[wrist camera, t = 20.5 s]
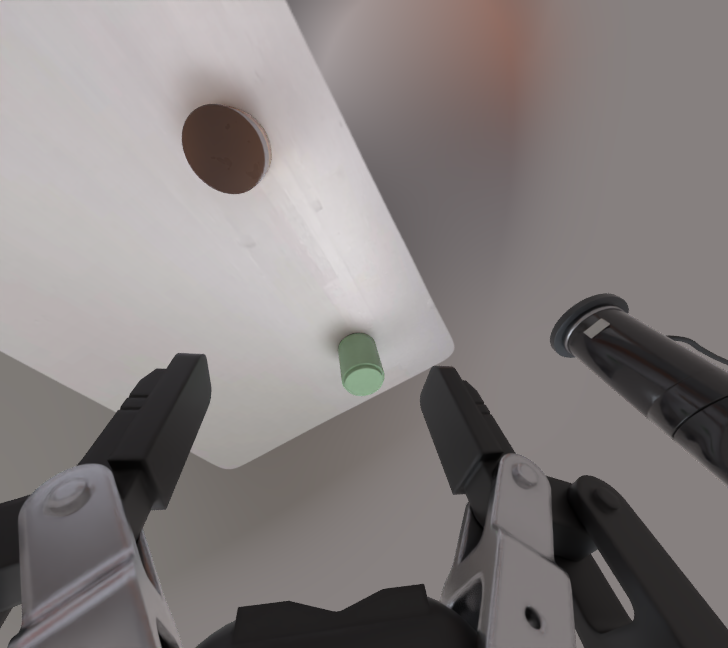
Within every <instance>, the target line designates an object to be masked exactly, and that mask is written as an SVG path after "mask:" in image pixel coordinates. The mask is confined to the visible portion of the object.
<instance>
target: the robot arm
mask: <svg viewBox="0 0 728 648" xmlns="http://www.w3.org/2000/svg"><path fill="white" fill-rule="evenodd" d="M676 341H682V342H685V343H688V344H690V345H691V346H693V347H694V348H695V349H696V350H698V351H700V352H702V353H703V354H705V355H707V356H709V357H711V358H713V359H715V360H717V361H720V362H722V363H724V364H727V365H728V360H726V359H724V358H722V357H720V356H717V355H716V354H714V353H712V352H710V351H708V350H707V349H705V348H703V347H701V346H700V345H699V344H697V343H696V342H695V341H693V340H691V339H689V338H685V337H679V336H665V335H663V334H662V333H660V332H658V331H657V330H655V329H653V328H651V327H650V326H648V325H646V324H644V323H643V322H641V321H639V320H638V319H636V318H634V317H633V316H631V315H629V314H627V313H626V312H624V311H623V310H622V309H620V308H619V307H617V306H615V305H612V304H603V305H599V306H596V307H593V308H591V309H589V310H587V311H585V312H584V313H582V314H581V315H579V316H578V317H577V318H576V319H575V320H573V322H572V323H571V324H570V325H569V326H568V327H567V329H566V331H565V332H564V335H563V338H562V344H563V347H564V348H565V349H566V350H567V351H568V352H569V353H571V354H572V355H574V356H575V357H576V358H577V359H579V360H580V361H581V362H582V363H583V364H584V365H585V366H586V367H588V368H589V369H590V370H591V371H592V372H594V373H595V374H596V375H597V376H598V377H600V378H601V379H602V380H603V381H604V382H605V383H607V384H608V385H609V386H610V387H611V388H612V389H614V390H615V391H616V392H617V393H618V394H619V395H621V396H622V397H623V398H624V399H625V400H626V401H627V402H629V403H630V404H631V405H632V406H633V407H635V408H636V409H637V410H638V411H639V412H640V413H642V414H643V415H644V416H645V417H646V418H647V419H649V420H650V421H651V422H652V423H653V424H655V425H656V426H657V427H658V428H659V429H660V430H662V431H663V432H664V433H665V434H666V435H668V436H669V437H670V438H671V439H672V440H674V441H675V442H676V443H677V444H678V445H679V446H680V447H681V448H683V449H684V450H685V451H686V452H687V453H689V454H690V455H691V456H692V457H693V458H694V459H695V460H697V461H698V462H699V463H700V464H701V465H702V466H703V467H705V468H706V469H707V470H708V471H709V472H710V473H712V474H713V475H714V476H715V477H716V478H717V479H718V480H720V481H721V482H722V483H723V484H724V485H725V486H726V487H728V371H726V370H724V369H722V368H721V367H719V366H717V365H715V364H714V363H712V362H710V361H708V360H706V359H705V358H703V357H702V356H700V355H698V354H696V353H694V352H693V351H691V350H689V349H688V348H686V347H684V346H683V345H681V344H679V343H677V342H676ZM210 399H211V382H210V376H209V370H208V364H207V358H206V356H205V355H204V354H189V353H178V354H176V355H175V357H174V358H173V359H172V361H171V363H170V364H169V366H168V367H167V369H155V370H154V371H152V372H151V373H150V374H148V375H147V376H145V377H144V378H143V379H141V380H140V381H139V382H138V384H137V385H136V387H135V388H134V389H133V391H132V392H131V393H130V396H129V398H127V399H126V400H125V402H124V403H123V404H122V406H121V408H120V410H118V411H117V412H116V414H115V415H114V417H113V418H112V419H111V421H110V422H109V423H108V425H107V426H106V427H105V429H104V430H103V432H102V433H101V434H100V436H99V437H98V438H97V440H96V441H95V442H94V444H93V445H92V446H91V448H90V449H89V451H88V452H87V453H86V455H85V456H84V457H83V459H82V460H81V461H80V462H79V464H78V465H77V466H75V467H72V468H70V469H67V470H65V471H63V472H61V473H59V474H57V475H55V476H53V477H52V478H50V479H49V480H47V481H46V482H44V483H43V484H42V485H40V486H39V487H38V488H37V489H36V490H35V491H34V492H33V493H32V494H31V495H27V496H24V497H21V498H18V499H14V500H11V501H7V502H4V503H1V504H0V628H1V626H2V624H3V623H4V621H5V619H6V618H7V616H8V614H9V612H10V611H11V609H12V608H13V607H15V606H17V605H20V604H22V625H21V629H20V631H19V633H18V634H17V635H15V636H14V637H13V638H12V639H11V640H10V642H9V644H8V647H7V648H183V646H182V643H181V639H180V636H179V634H178V630H177V627H176V625H175V622H174V619H173V616H172V614H171V612H170V609H169V607H168V605H167V602H166V599H165V597H164V594H163V591H162V587H161V584H160V581H159V578H158V575H157V571H156V568H155V565H154V562H153V559H152V556H151V552H150V549H149V546H148V543H147V540H146V537H145V533H144V530H143V526H144V524H145V521H146V519H147V517H148V514H149V513H150V510H163V509H166V508H167V506H168V504H169V501H170V499H171V496H172V493H173V491H174V489H175V486H176V484H177V481H178V479H179V477H180V474H181V472H182V469H183V467H184V465H185V462H186V460H187V457H188V455H189V452H190V450H191V448H192V445H193V443H194V440H195V438H196V435H197V433H198V431H199V428H200V426H201V423H202V421H203V418H204V416H205V413H206V411H207V409H208V406H209V403H210ZM420 406H421V410H422V413H423V415H424V418H425V421H426V423H427V426H428V429H429V431H430V434H431V437H432V439H433V442H434V445H435V447H436V450H437V453H438V456H439V458H440V460H441V464H442V466H443V469H444V472H445V474H446V477H447V479H448V482H449V485H450V488H451V490H452V493H453V495H455V494H466V496H467V498H468V501H469V502H468V504H467V505H466V508H465V512H464V517H463V521H462V526H461V530H460V535H459V539H458V544H457V548H456V553H455V558H454V562H453V565H452V568H451V571H450V573H449V575H448V577H447V579H446V582H445V584H444V587H443V590H442V593H441V597H440V601H437V600H435V599H432V598H430V597H427V595H426V590H425V586H424V584H419V585H411V586H403V587H395V588H387V589H382V590H380V591H378V592H376V593H374V594H372V595H371V596H369V597H367V598H365V599H363V600H361V601H359V602H358V603H356V604H353V605H352V606H350V607H348V608H346V609H344V610H342V611H338V612H335V611H329V610H325V609H320V608H317V607H312V606H308V605H304V604H299V603H295V602H291V601H284V602H277V603H269V604H261V605H253V606H244V607H239V608H238V611H237V616H236V620H235V621H233V622H231V623H229V624H227V625H225V626H224V627H222V628H221V629H219V630H218V631H216V632H214V633H213V634H211V635H210V636H209V637H208V638H206V639H205V640H204V641H203V642H201V643H200V644H199V645H198V646H197V647H196V648H576V637H575V629H576V631H577V633H578V635H579V637H580V640H581V642H582V644H583V646H584V648H728V629H727V628H726V627H725V625H724V624H723V623H722V622H721V620H720V619H719V618H718V616H717V615H716V614H715V613H714V611H713V610H712V609H711V608H710V606H709V605H708V604H707V602H706V601H705V600H704V599H703V597H702V596H701V595H700V594H699V593H698V591H697V590H696V589H695V588H694V586H693V585H692V584H691V582H690V581H689V580H688V579H687V577H686V576H685V575H684V574H683V572H682V571H681V570H680V569H679V567H678V566H677V565H676V563H675V562H674V561H673V560H672V558H671V557H670V556H669V555H668V553H667V552H666V551H665V550H664V548H663V547H662V546H661V545H660V543H659V542H658V541H657V539H656V538H655V537H654V536H653V534H652V533H651V532H650V531H649V529H648V528H647V527H646V526H645V524H644V523H643V522H642V521H641V519H640V518H639V517H638V516H637V514H636V513H635V512H634V510H633V509H632V508H631V507H630V505H629V504H628V503H627V502H626V500H625V499H624V498H623V497H622V496H621V495H620V494H619V493H618V492H617V491H616V490H615V489H614V488H613V487H611V486H610V485H608V484H607V483H605V482H604V481H602V480H600V479H598V478H596V477H593V476H588V475H584V476H581V477H579V478H578V479H577V480H576V481H575V482H574V483H573V484H571V483H568V482H565V481H562V480H558V479H555V478H552V477H548V476H545V474H544V473H543V471H542V470H541V469H540V468H539V467H538V466H537V465H536V464H535V463H534V462H532V461H531V460H529V459H528V458H526V457H524V456H522V455H519V454H516V453H515V452H514V450H513V449H512V447H511V445H510V444H509V442H508V440H507V439H506V437H505V436H504V434H503V433H502V431H501V429H500V427H499V426H498V424H497V423H496V421H495V419H494V418H493V416H492V415H490V411H489V410H488V408H487V407H486V405H484V402H483V400H482V399H481V397H480V395H479V394H478V392H477V390H475V389H474V388H473V387H472V386H471V385H470V384H469V383H468V382H467V381H464V380H462V379H461V377H460V376H459V374H458V372H457V371H456V369H455V368H453V367H449V366H433V367H432V368H431V370H430V372H429V375H428V377H427V380H426V382H425V384H424V387H423V389H422V392H421V396H420ZM597 549H598V550H599V552H600V553H601V555H602V556H603V558H604V559H605V561H606V563H607V564H608V566H609V567H610V569H611V570H612V572H613V574H614V575H615V577H616V578H617V580H618V581H619V583H620V585H621V586H622V588H623V590H624V591H625V593H626V594H627V596H628V597H629V599H630V601H631V603H632V606H633V609H634V620H633V621H632V620H631V619H630V617H629V616H628V614H627V613H626V611H625V610H624V608H623V607H622V605H621V603H620V601H619V600H618V598H617V596H616V595H615V593H614V591H613V590H612V588H611V587H610V585H609V583H608V582H607V580H606V578H605V577H604V575H603V573H602V572H601V570H600V568H599V567H598V565H597V563H596V562H595V560H594V558H593V557H592V555H591V553H593V552H594V551H596V550H597Z"/></svg>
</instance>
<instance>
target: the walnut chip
mask: <svg viewBox="0 0 728 648" xmlns="http://www.w3.org/2000/svg"><path fill="white" fill-rule="evenodd" d="M182 145H183V150H184V153H185V156H186V159H187V161H188V163H189V165H190V166H191V168H192V169H193V171H194V172H195V173H196V175H197V176H198V177H199V178H200V179H201V180H202V181H203V182H205V183H206V184H207V185H209V186H210V187H212V188H213V189H216V190H218V191H220V192H223V193H228V194H240V193H244V192H247V191H249V190H251V189H252V188H253V187H255V186H256V185H257V184H258V183H259V182H260V181H261V180H262V179H263V177H264V176H265V174H266V171H267V168H268V163H269V152H268V147H267V144H266V141H265V138H264V136H263V134H262V132H261V131H260V129H259V128H258V126H257V125H256V124H255V123H254V122H253V121H252V120H251V119H250V118H249V117H248V116H247V115H245V114H244V113H242V112H240V111H238V110H236V109H234V108H230V107H227V106H223V105H218V104H208V105H203V106H201V107H198V108H197V109H195V110H194V111H193V112H192V113H191V114H190V115H189V116H188V117H187V119H186V121H185V123H184V126H183V131H182Z"/></svg>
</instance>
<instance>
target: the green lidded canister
mask: <svg viewBox="0 0 728 648" xmlns="http://www.w3.org/2000/svg"><path fill="white" fill-rule="evenodd" d="M338 353H339V361H340V369H341V378H342V384H343V386H344V388H345V389H346V390H347V391H348V392H349V393H351V394H353V395H356V396H366V395H370V394H372V393H374V392H376V391H377V390H378V389H379V388H380V387H381V385H382V383H383V381H384V371H383V368H382V365H381V361H380V358H379V355H378V351H377V348H376V344H375V342H374V340H373V339H372V338H371V337H370V336H368V335H366V334H362V333H356V334H351V335H349V336H347V337H345V338H344V339H343V340H342V341H341V342H340V344H339V347H338Z"/></svg>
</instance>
